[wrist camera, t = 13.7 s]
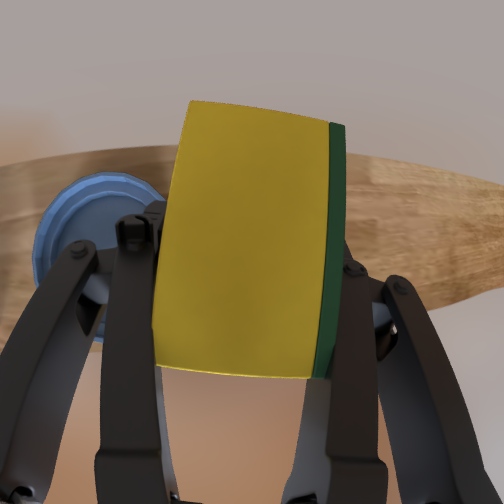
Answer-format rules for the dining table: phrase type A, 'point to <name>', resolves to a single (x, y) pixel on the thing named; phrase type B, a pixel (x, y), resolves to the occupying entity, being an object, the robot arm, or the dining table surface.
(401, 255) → the dining table surface
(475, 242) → the dining table surface
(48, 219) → the bowl
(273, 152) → the sponge
